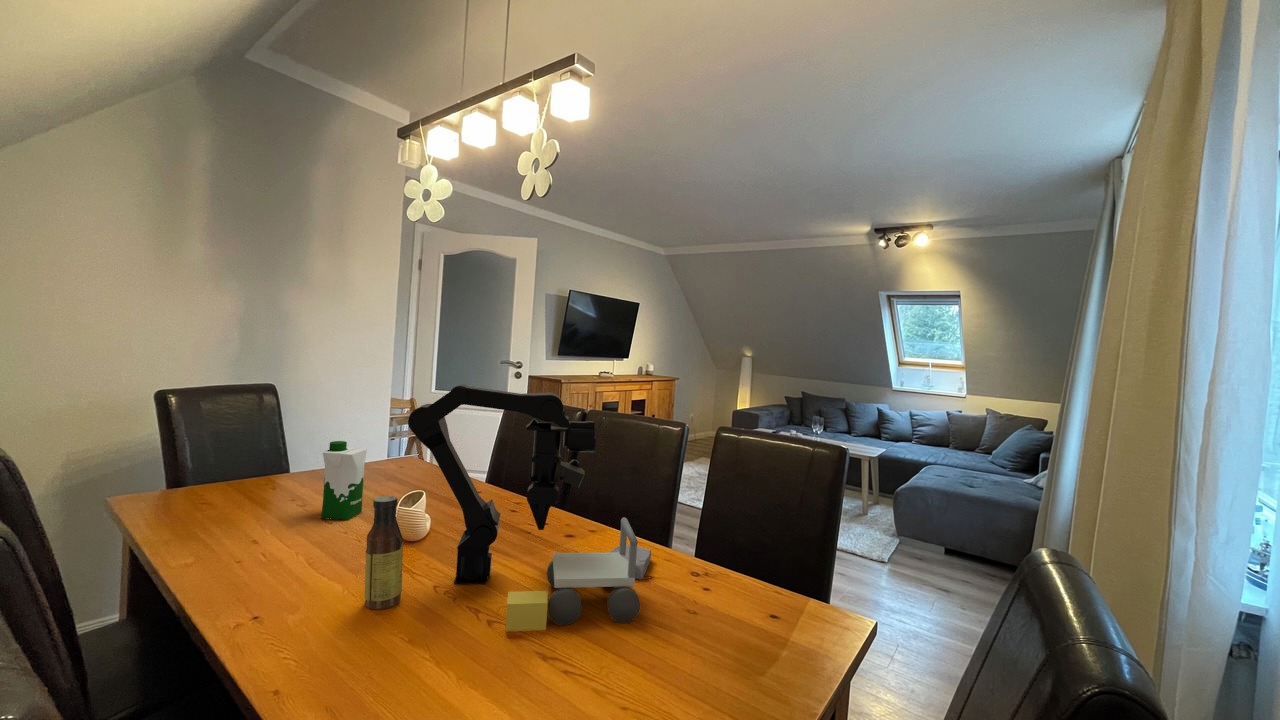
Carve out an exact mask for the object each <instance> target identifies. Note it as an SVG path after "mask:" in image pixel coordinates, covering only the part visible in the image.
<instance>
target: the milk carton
mask: <svg viewBox="0 0 1280 720" xmlns="http://www.w3.org/2000/svg"><path fill="white" fill-rule="evenodd" d="M347 445H348V443H347V441H345V440H337V441H336V440H335V441H330V442H329V449H327V450H325V451H323V452H322V456H323V462H324V477H323V478H324V480H323V493H322V504H321V505H322V506H321V516H320V519H321V518H329V519H328V520H332V519H342V520H341V521H345V520H347V521H349V520H351V519H352V518H351V517H353V516H354V517H356V516H358V515H360V514H361V513H362V512H363V493H364V491H363V490H364V477H365V463H366V457H367V450H368V449H367V448H359V447H349V446H347ZM360 512H361V513H360ZM359 513H360V514H359ZM357 514H358V515H357ZM355 515H356V516H355ZM354 517H353V518H354ZM330 518H331V519H330ZM350 518H351V519H350ZM348 519H349V520H348Z"/></svg>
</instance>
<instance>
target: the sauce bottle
mask: <svg viewBox="0 0 1280 720" xmlns="http://www.w3.org/2000/svg"><path fill="white" fill-rule="evenodd" d="M372 506H373V508H374V511H373V513H374V515H373V516H374V519H373V523H372V525H371V529H370V530H369V532H367V535H366V550H365V576H364V577H365V578H364V600H365V601H364V604H365V606H366V607H367V608H369V609H370V610H376V611H377V610H386V609H390V608H392V607H394V606H396V605H397V604H399V602H400V601H401V598H402V592H403V565H404V564H403V559H404V558H403V557H404V556H403V555H404V553H403V551H404V550H403V549H404V540H403V539H404V538H403V535H402V532H401V529H400V527H399V522H398V520H397V506H398V497H397V496H394V495H382V496H377V497H375V498H374V499H373V505H372Z"/></svg>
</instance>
